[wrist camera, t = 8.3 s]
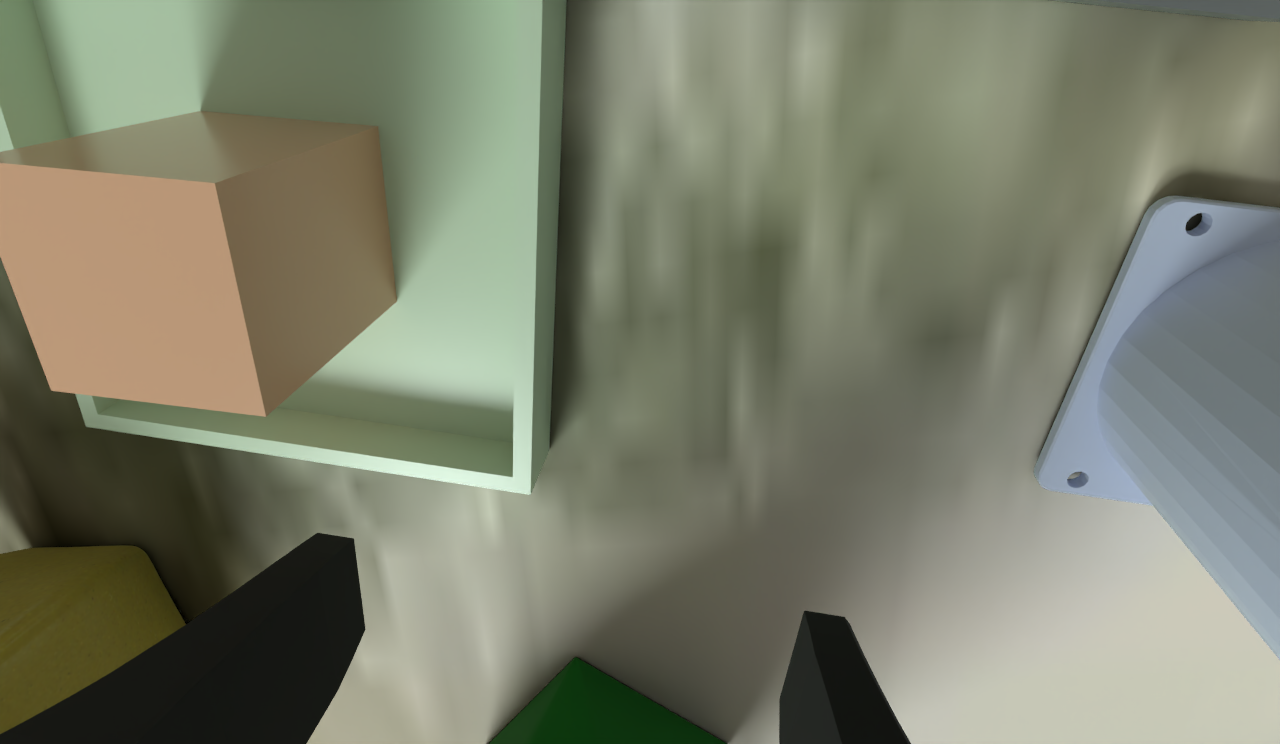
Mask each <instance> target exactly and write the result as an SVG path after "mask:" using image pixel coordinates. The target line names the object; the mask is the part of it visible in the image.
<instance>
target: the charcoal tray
mask: <svg viewBox="0 0 1280 744" xmlns="http://www.w3.org/2000/svg"><path fill="white" fill-rule="evenodd" d="M1050 1H1060V2H1070V3H1080V4H1090V5H1099V6H1109V7H1119V8H1129V9H1139V10H1149V11H1158V12H1168V13H1178V14H1188V15H1198V16H1207V17H1217V18H1227V19H1237V20H1247V21H1270V22H1280V0H1050Z"/></svg>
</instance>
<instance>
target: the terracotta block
mask: <svg viewBox="0 0 1280 744" xmlns="http://www.w3.org/2000/svg"><path fill="white" fill-rule="evenodd" d="M0 257H1V259H2V262H3V264H4V267H5V270H6V272H7V275H8V278H9V280H10V283H11V286H12V288H13V291H14V294H15V296H16V299H17V301H18V304H19V307H20V309H21V312H22V315H23V317H24V320H25V323H26V325H27V328H28V331H29V333H30V336H31V338H32V341H33V344H34V346H35V349H36V352H37V354H38V357H39V360H40V362H41V365H42V368H43V370H44V373H45V375H46V378H47V381H48V383H49V386H50V389H51V391H58V392H66V393H74V394H82V395H91V396H99V397H107V398H115V399H124V400H132V401H140V402H148V403H157V404H165V405H173V406H181V407H190V408H198V409H206V410H214V411H222V412H231V413H239V414H247V415H255V416H264V417H266V416H267V415H269V414H270V413H271V412H272V411H273V410H274V409H275V408H277V407H278V406H279V405H280V404H281V403H282V402H283V401H285V400H286V399H287V398H288V397H289V396H290V395H291V394H292V393H294V392H295V391H296V390H297V389H298V388H299V387H300V386H302V385H303V384H304V383H305V382H306V381H307V380H308V379H309V378H311V377H312V376H313V375H314V374H315V373H316V372H317V371H319V370H320V369H321V368H322V367H323V366H324V365H325V364H327V363H328V362H329V361H330V360H331V359H332V358H333V357H334V356H336V355H337V354H338V353H339V352H340V351H341V350H342V349H344V348H345V347H346V346H347V345H348V344H349V343H350V342H351V341H353V340H354V339H355V338H356V337H357V336H358V335H359V334H361V333H362V332H363V331H364V330H365V329H366V328H367V327H369V326H370V325H371V324H372V323H373V322H374V321H375V320H376V319H378V318H379V317H380V316H381V315H382V314H383V313H384V312H386V311H387V310H388V309H389V308H390V307H391V306H392V305H394V304H395V303H396V302H397V296H396V287H395V278H394V268H393V259H392V250H391V241H390V232H389V222H388V213H387V204H386V195H385V185H384V176H383V167H382V158H381V148H380V139H379V130H378V126H371V125H359V124H348V123H336V122H324V121H313V120H301V119H289V118H278V117H266V116H254V115H243V114H231V113H219V112H208V111H197V112H192V113H188V114H183V115H178V116H173V117H168V118H163V119H158V120H153V121H149V122H144V123H139V124H134V125H129V126H124V127H119V128H114V129H110V130H105V131H100V132H95V133H90V134H85V135H80V136H76V137H71V138H66V139H61V140H56V141H51V142H46V143H41V144H37V145H32V146H27V147H22V148H17V149H12V150H7V151H2V152H0Z"/></svg>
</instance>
